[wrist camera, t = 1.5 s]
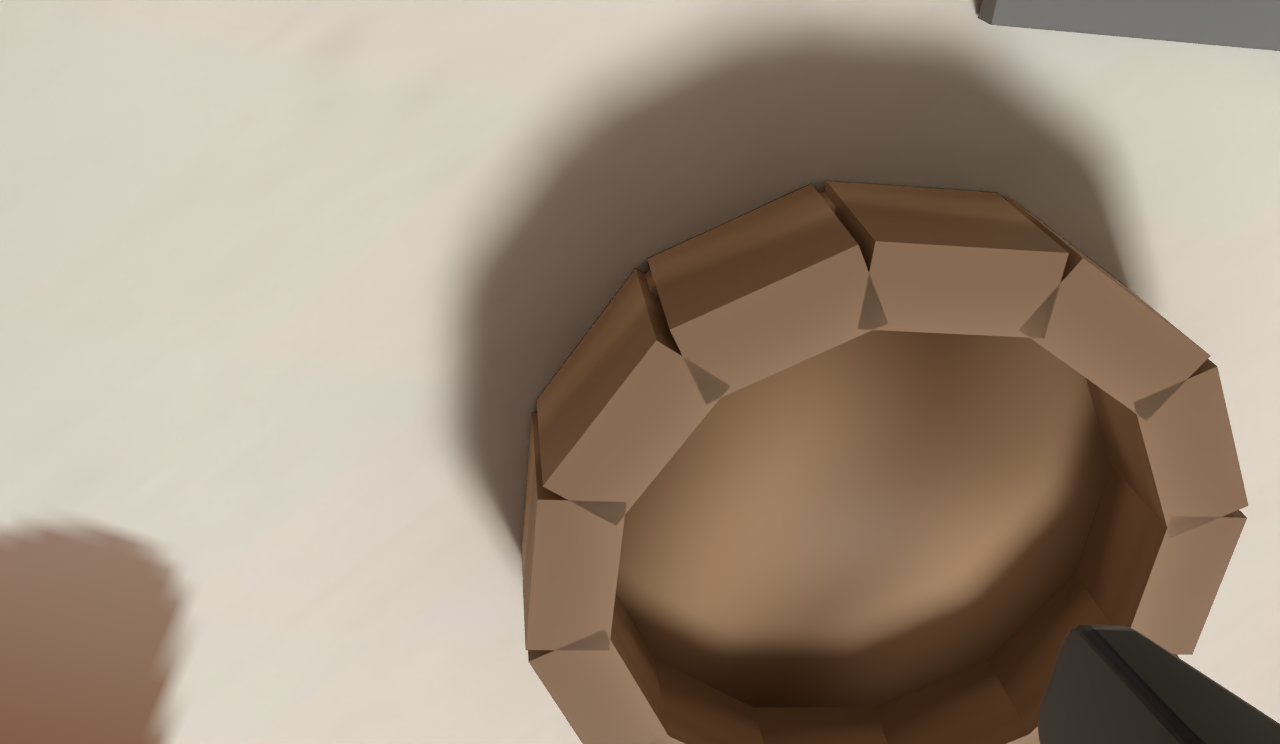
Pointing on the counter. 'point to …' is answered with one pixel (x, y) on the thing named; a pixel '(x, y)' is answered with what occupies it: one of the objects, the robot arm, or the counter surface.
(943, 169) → the counter surface
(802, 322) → the bowl
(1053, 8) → the mat
